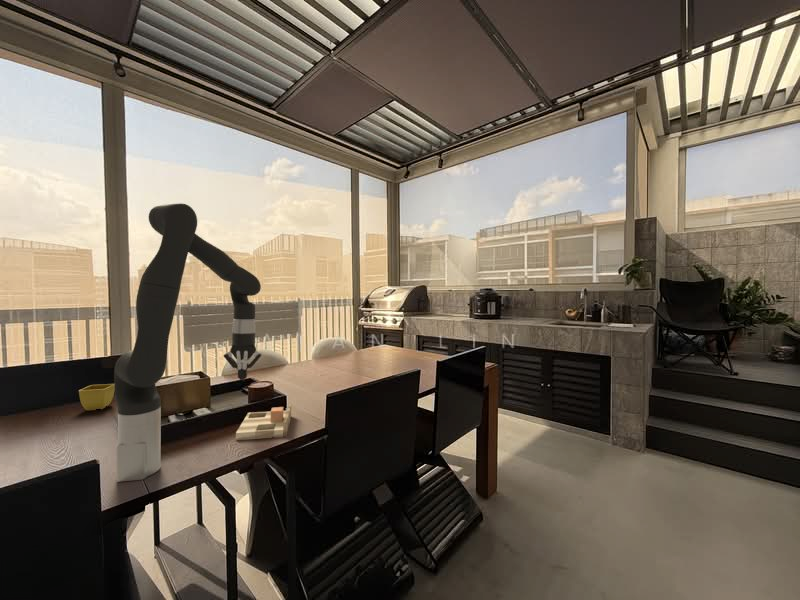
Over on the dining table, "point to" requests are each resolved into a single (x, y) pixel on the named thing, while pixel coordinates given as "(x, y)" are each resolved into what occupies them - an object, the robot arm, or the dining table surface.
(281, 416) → the block
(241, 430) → the board
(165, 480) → the dining table surface
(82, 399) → the flower pot
